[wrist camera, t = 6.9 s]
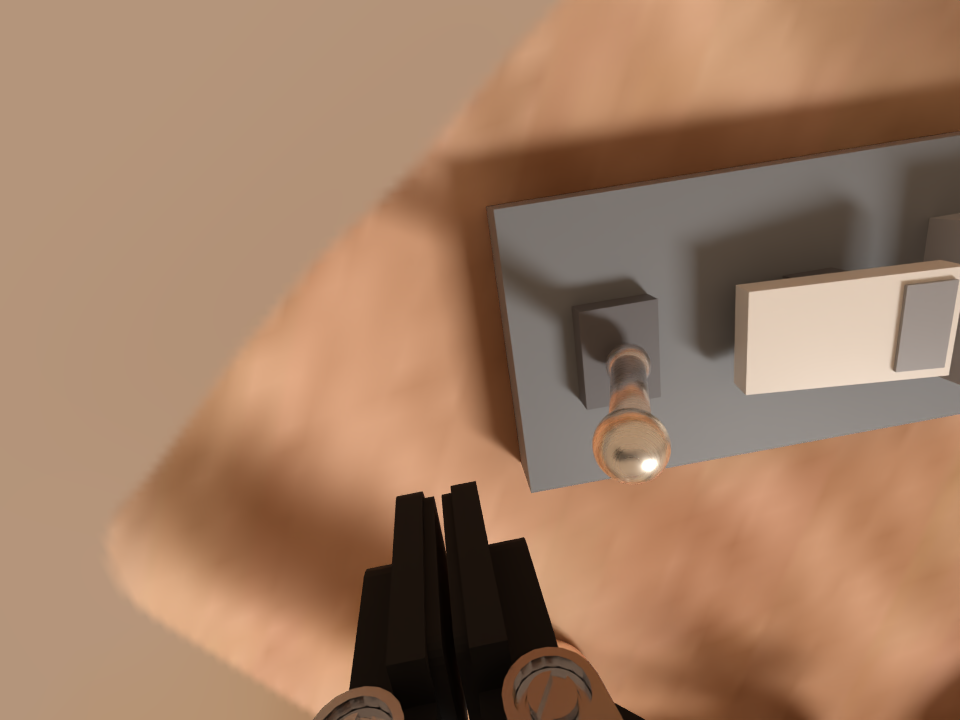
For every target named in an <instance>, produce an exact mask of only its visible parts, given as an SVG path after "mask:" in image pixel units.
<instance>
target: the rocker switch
mask: <svg viewBox="0 0 960 720" xmlns="http://www.w3.org/2000/svg"><path fill="white" fill-rule="evenodd" d="M959 313H960V264H957V263H953V262H948V261H944V260H935V261H927V262H918V263H910V264H902V265H894V266H886V267H878V268H870V269H861V270H853V271H845V272H837V273H829V274H821V275H812V276H804V277H796V278H788V279H780V280H772V281H764V282H755V283H747V284H739V285H736V299H735V347H734V384H735V385H736V386H737V387H738V388H739V389H740V390H741V391H742V392H743V393H744V394H745V395H752V394H762V393H773V392H783V391H793V390H803V389H814V388H824V387H834V386H844V385H855V384H865V383H875V382H885V381H896V380H906V379H916V378H926V377H937V376H947V375H949V371H950V365H951V359H952V353H953V348H954V342H955V336H956V330H957V324H958V319H959Z"/></svg>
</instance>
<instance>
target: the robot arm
mask: <svg viewBox="0 0 960 720" xmlns="http://www.w3.org/2000/svg"><path fill="white" fill-rule="evenodd" d="M442 506H443V518H444V531H445V543H446V551H445V546H444V541H443V536H442V532H441V527H440V522H439V517H438V513H437V508H436V503H435V499H434V496H433V497H428V498H425V497H424V494H423V492H417V493H412V494H407V495H402V496H397V497H396V508H395V524H394V541H393V557H392V564H390V565H385V566H380V567H375V568H370V569H367V570H366V572H365V575H364V581H363V589H362V596H361V604H360V612H359V619H358V627H357V635H356V642H355V650H354V658H353V665H352V673H351V681H350V688H349V691H347V692H345V693H343V694H341V695H339V696H337V697H335V698H334V699H333V700H331V701H330V702H329V703H328V704H327V705H325V706H324V707H323V708H322V709H321V710H320V712H319V713H318V714H317V715H316V717H315V718H314V719H313V720H468V714H469V719H470V720H645V719H643V718H641V717H639V716H638V715H636V714H634V713H632V712H630V711H628V710H627V709H625V708H623V707H621V706H619V705H618V704H616V703H614V702H613V700H612V698H611V697H610V695H609V693H608V691H607V689H606V687H605V686H604V684H603V682H602V680H601V678H600V677H599V675H598V673H597V672H596V670H595V669H594V668H593V667H592V665H591V664H590V663H589V661H587V660H586V659H584V658H583V657H582V656H580V655H579V654H577V653H576V652H573V651H570V650H567V649H565V648H559V647H558V644H557V641H556V638H555V634H554V631H553V628H552V625H551V621H550V618H549V615H548V612H547V608H546V605H545V602H544V599H543V595H542V592H541V589H540V586H539V582H538V579H537V576H536V572H535V569H534V566H533V563H532V559H531V556H530V553H529V550H528V546H527V543H526V540H525V538H524V537H523V538H519V539H514V540H509V541H504V542H499V543H494V544H489V545H488V540H487V535H486V530H485V525H484V520H483V515H482V510H481V505H480V500H479V495H478V490H477V485H476V481H474V482H469V483H463V484H458V485H453V486H451V493H449V494H444V495H442ZM446 555H447V556H446ZM467 710H468V714H467Z"/></svg>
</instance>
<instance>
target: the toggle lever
mask: <svg viewBox="0 0 960 720" xmlns="http://www.w3.org/2000/svg"><path fill="white" fill-rule="evenodd" d="M606 371H607V374H608V376H609V378H610V400H609V414H608V415H606V416H605V417H604V418H603V419H602V420H601V421H600V422H599V424H598V425H597V427H596V429H595V431H594V434H593V439H592V449H593V454H594V457H595V460H596V462H597V464H598V465H599V467H600V468H601V469H602V471H603V472H604V473H605V474H607V475H608V476H609V477H611V478H612V479H614V480H616V481H618V482H621V483H625V484H642V483H646V482H648V481H651V480H653V479H654V478H656V477H657V476H658V475H659V474H660V473H662V471H663V470H664V469H665V467H666V465H667V464H668V461H669V459H670V454H671V441H670V437H669V434H668V432H667V430H666V428H665V426H664V425H663V424H662V422H661V421H660V420H659V419H658V418H657V417H655V416H654V415H653V414H651V408H650V400H649V391H648V382H647V378H648V376H649V374H650V371H651V360H650V357H649V355H648V353H647V352H646V351H645V350H644V349H643V348H642V347H640V346H638V345H636V344H631V343H626V344H621V345H619V346H617V347H615V348H614V349H613V350H612V351H611V352H610V353H609V355H608V356H607V359H606Z"/></svg>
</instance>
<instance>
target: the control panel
mask: <svg viewBox="0 0 960 720" xmlns="http://www.w3.org/2000/svg"><path fill="white" fill-rule="evenodd" d="M486 210H487V217H488V224H489V231H490V239H491V246H492V253H493V260H494V268H495V275H496V282H497V289H498V297H499V304H500V311H501V319H502V326H503V333H504V340H505V348H506V355H507V362H508V369H509V377H510V384H511V391H512V398H513V406H514V413H515V420H516V427H517V435H518V442H519V449H520V456H521V464H522V467H523V470H524V473H525V476H526V479H527V481H528V484H529V487H530V490H531V493H534V492H539V491H545V490H550V489H556V488H561V487H566V486H572V485H577V484H583V483H588V482H594V481H599V480H604V479H610V478H611V477H609V476H608V475H607V474H605V473H604V472H603V471H602V469H601V468H600V467H599V465H598V464H597V462H596V460H595V457H594V454H593V449H592V439H593V434H594V431H595V429H596V427H597V425H598V424H599V422H600V421H601V420H602V419H603V418H604V417H605V416H606V415H608V414H609V400H610V378H609V376H608V374H607V371H606V359H607V356H608V355H609V353H610V352H611V351H612V350H613V349H614V348H615V347H617V346H619V345H621V344H626V343H631V344H636V345H638V346H640V347H642V348H643V349H644V350H645V351H646V352H647V353H648V355H649V357H650V360H651V371H650V374H649V376H648V378H647V382H648V391H649V400H650V408H651V414H653V415H654V416H655V417H657V418H658V419H659V420H660V421H661V422H662V424H663V425H664V426H665V428H666V430H667V432H668V434H669V437H670V441H671V454H670V459H669V461H668V464H667V465H666V467H665V468H670V467H675V466H680V465H686V464H691V463H697V462H702V461H708V460H713V459H718V458H724V457H729V456H735V455H740V454H746V453H751V452H756V451H762V450H767V449H773V448H778V447H784V446H789V445H794V444H800V443H805V442H811V441H816V440H822V439H827V438H833V437H838V436H843V435H849V434H854V433H860V432H865V431H871V430H876V429H881V428H887V427H892V426H898V425H903V424H909V423H914V422H919V421H925V420H930V419H936V418H941V417H947V416H952V415H957V414H960V313H959V319H958V324H957V330H956V336H955V342H954V348H953V353H952V359H951V365H950V371H949V375H947V376H937V377H926V378H916V379H906V380H896V381H885V382H875V383H865V384H855V385H844V386H834V387H824V388H814V389H803V390H793V391H783V392H773V393H762V394H752V395H745V394H744V393H743V392H742V391H741V390H740V389H739V388H738V387H737V386H736V385H735V384H734V347H735V299H736V285H739V284H747V283H755V282H764V281H772V280H780V279H788V278H796V277H804V276H812V275H821V274H829V273H837V272H845V271H853V270H861V269H870V268H878V267H886V266H894V265H902V264H910V263H918V262H927V261H935V260H944V261H948V262H953V263H957V264H960V131H957V132H951V133H944V134H938V135H932V136H926V137H919V138H913V139H907V140H901V141H894V142H888V143H882V144H876V145H869V146H863V147H857V148H851V149H844V150H838V151H832V152H825V153H819V154H813V155H807V156H800V157H794V158H788V159H782V160H775V161H769V162H763V163H757V164H750V165H744V166H738V167H731V168H725V169H719V170H713V171H706V172H700V173H694V174H688V175H681V176H675V177H669V178H663V179H656V180H650V181H644V182H638V183H631V184H625V185H619V186H612V187H606V188H600V189H594V190H587V191H581V192H575V193H569V194H562V195H556V196H550V197H544V198H537V199H531V200H525V201H518V202H512V203H506V204H500V205H493V206H487V207H486Z"/></svg>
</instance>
